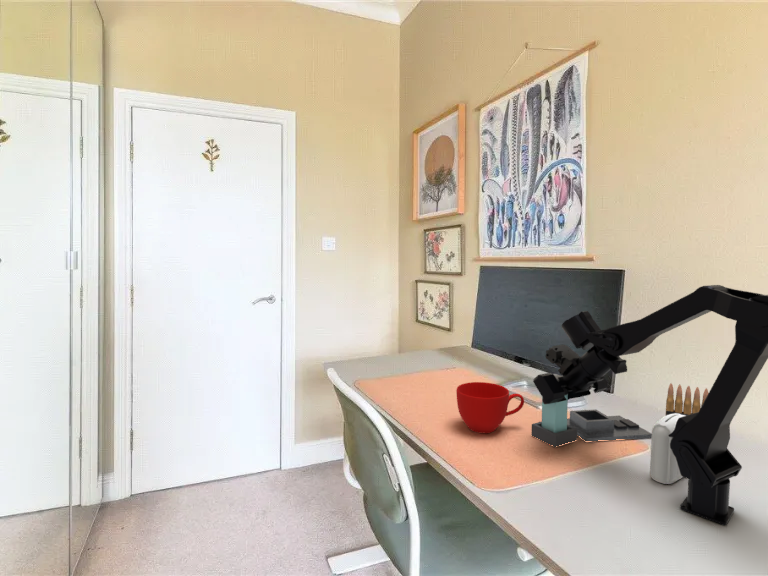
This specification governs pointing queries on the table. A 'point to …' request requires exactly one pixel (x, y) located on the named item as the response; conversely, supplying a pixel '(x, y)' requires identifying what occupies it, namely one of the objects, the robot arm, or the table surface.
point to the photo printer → (664, 451)
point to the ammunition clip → (687, 402)
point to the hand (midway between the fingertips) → (550, 400)
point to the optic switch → (604, 426)
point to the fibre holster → (554, 435)
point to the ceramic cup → (484, 405)
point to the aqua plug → (555, 414)
